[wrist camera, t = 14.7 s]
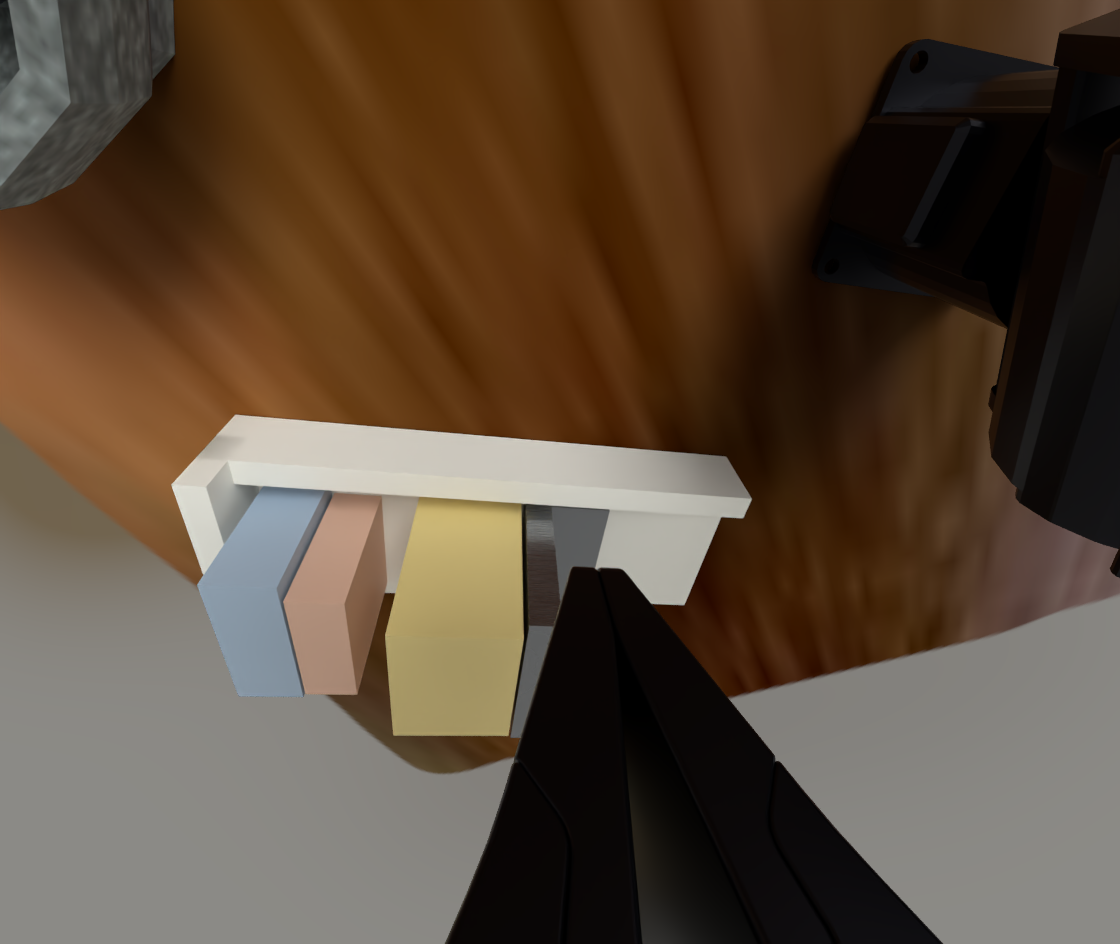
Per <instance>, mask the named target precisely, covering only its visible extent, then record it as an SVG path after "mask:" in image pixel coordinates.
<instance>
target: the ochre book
mask: <svg viewBox="0 0 1120 944" xmlns="http://www.w3.org/2000/svg"><path fill="white" fill-rule="evenodd" d="M523 640H524V632H523V571H522V511H521V503H507V502H493V501H478V500H463V499H448V498H433V497H419V500H418V504H417V508H416V512H415V516H414V520H413V525H412V529H411V533H410V537H409V541H408V545H407V549H406V553H405V557H404V561H403V565H402V569H401V573H400V577H399V581H398V585H397V589H396V593H395V597H394V602H393V606H392V610H391V614H390V618H389V622H388V626H387V630H386V634H385V641H386V653H387V665H388V677H389V689H390V701H391V714H392V726H393V736H508V734H509V728H510V722H511V715H512V709H513V703H514V697H515V690H516V684H517V678H518V672H519V665H520V659H521V653H522V647H523Z"/></svg>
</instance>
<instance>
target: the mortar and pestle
mask: <svg viewBox="0 0 1120 944" xmlns="http://www.w3.org/2000/svg"><path fill="white" fill-rule="evenodd" d="M174 55H175V40H174V12H173V0H0V210H3V209H8V208H13V207H19V206H24V205H29V204H33V203H35V202H37V201H39V200H41V199H43V198H45V197H47V196H48V195H50V194H52V193H54V192H56V191H58V190H60V189H62V188H64V187H66V186H68V185H70V184H72V183H74V182H75V181H76V180H77V179H78V178H79V176H80V175H81V174H82V173H83V172H84V171H85V170H86V169H87V168H88V166H89V165H90V164H91V163H92V162H93V161H94V160H95V159H96V158H97V156H98V155H99V154H100V153H101V152H102V151H103V150H104V149H105V148H106V146H107V145H108V144H109V143H110V142H111V141H112V140H113V139H114V138H115V136H116V135H117V134H118V133H119V132H120V131H121V130H122V129H123V127H124V126H125V125H126V124H127V123H128V122H129V121H130V120H131V119H132V117H133V116H134V115H135V114H136V113H137V112H138V111H139V110H140V109H141V107H142V106H143V105H144V104H145V103H146V102H147V101H148V100H149V99H150V97H151V96H152V80H153V79H154V77H155V76H156V75H157V74H158V73H159V72H160V71H161V70H162V68H163V67H164V66H165V65H166V64H167V63H168V62H169V61H170V59H171V58H172V57H173V56H174Z"/></svg>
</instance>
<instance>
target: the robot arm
mask: <svg viewBox="0 0 1120 944" xmlns="http://www.w3.org/2000/svg"><path fill="white" fill-rule="evenodd" d="M916 53H917V54H918V56H919V63H918V66H917V67H916V69H915V70H914V71H913V72H911V71H910V68H909V65H910V61H911V59H912V57H913V56H914V54H916ZM1053 65H1054V66H1057V67H1053V66H1049V65H1044V64H1039V63H1035V62H1030V61H1026V60H1021V59H1017V58H1012V57H1008V56H1003V55H999V54H994V53H989V52H985V51H980V50H976V49H971V48H967V47H962V46H958V45H953V44H949V43H944V42H940V41H935V40H930V39H923V40H916V41H912V42H910V43H908V44H906V45H905V46H904V47H903V48H902V49H901V50H900V51H899V52H898V54H897V56H896V58H895V59H894V62H893V64H892V67H891V69H890V72H889V74H888V77H887V79H886V82H885V84H884V87H883V89H882V92H881V94H880V96H879V99H878V101H877V104H876V106H875V109H874V111H873V114H872V116H871V119H870V120H869V121H868V122H867V123H866V124H865V125H864V126H863V129H862V131H861V134H860V136H859V139H858V141H857V144H856V146H855V149H854V151H853V154H852V156H851V159H850V161H849V164H848V166H847V169H846V171H845V174H844V176H843V179H842V181H841V184H840V186H839V189H838V191H837V194H836V196H835V199H834V201H833V204H832V206H831V209H830V216H831V218H830V220H829V223H828V225H827V228H826V230H825V233H824V235H823V238H822V240H821V243H820V245H819V248H818V250H817V253H816V255H815V258H814V260H813V263H812V273H813V274H814V276H815V277H817V278H818V279H820V280H823V281H825V282H831V283H838V284H846V285H853V286H860V287H867V288H874V289H881V290H888V291H895V292H903V293H910V294H917V295H924V296H931V297H936V298H939V299H941V300H943V301H945V302H948V303H950V304H952V305H954V306H957V307H959V308H961V309H963V310H966V311H968V312H970V313H972V314H975V315H977V316H979V317H981V318H984V319H986V320H988V321H990V322H993V323H995V324H997V325H999V326H1002V327H1004V328H1006V329H1007V334H1006V339H1005V344H1004V349H1003V354H1002V359H1001V364H1000V369H999V374H998V380H997V385H994V386H993V387H992V388H991V393H990V398H989V403H988V404H989V407H990V409H991V410H992V412H993V413H992V418H991V423H990V428H989V440H990V449H991V457H992V458H993V460H994V461H995V462H996V464H997V465H998V466H999V467H1000V469H1001V470H1002V471H1003V473H1004V474H1005V475H1006V476H1007V478H1008V479H1009V480H1010V482H1011V483H1012V484H1013V485H1015V486H1016V487H1017V489H1016V499H1017V500H1018V501H1019V503H1021V504H1022V505H1024V506H1026V507H1027V508H1029V509H1030V510H1032V511H1033V512H1035V513H1036V514H1038V515H1040V516H1041V517H1043V518H1044V519H1046V520H1047V521H1049V522H1051V523H1053V524H1056V525H1058V526H1060V527H1062V528H1065V529H1067V530H1069V531H1071V532H1074V533H1076V534H1078V535H1081V536H1083V537H1085V538H1087V539H1090V540H1092V541H1094V542H1097V543H1100V544H1103V545H1106V546H1110V547H1113V548H1116V549H1119V550H1118V552H1117V554H1116V556H1115V558H1114V561H1113V563H1112V565H1111V567H1110V570H1111V572H1112V573H1113V574H1114V575H1115V576H1117V577H1119V578H1120V9H1118V10H1115V11H1113V12H1110V13H1108V14H1105V15H1102V16H1100V17H1097V18H1094V19H1092V20H1089V21H1086V22H1084V23H1081V24H1079V25H1076V26H1073V27H1071V28H1068V29H1065V30H1063V31H1061V32H1060V33H1059V38H1058V43H1057V48H1056V53H1055V58H1054V64H1053ZM1058 67H1059V68H1058ZM831 259H833V260H834V261H833V265H832V267H831V268H830V269H829V270H827V271H824V268H825V265H826V263H827V262H828V261H829V260H831ZM445 944H943V943H942V942H941V941H940V940H939V939H938V938H937V937H936V936H935V934H934V933H933V932H932V931H931V930H930V929H929V928H928V927H927V926H926V925H925V924H924V923H923V922H922V921H921V920H920V919H919V918H918V917H917V915H916V914H915V913H914V912H913V911H912V910H911V909H910V908H909V907H908V906H907V905H906V904H905V903H904V902H903V901H902V900H901V899H900V897H898V895H897V894H896V893H895V892H894V891H893V890H892V889H891V888H890V887H889V886H888V885H887V884H886V883H885V882H884V881H883V880H882V878H881V877H880V876H879V875H878V874H877V873H876V872H875V871H874V870H873V869H872V868H871V867H870V865H869V864H868V863H867V862H866V861H865V860H864V859H863V858H862V857H861V856H860V854H858V852H857V851H856V850H855V849H854V848H853V847H852V846H851V845H850V844H849V842H848V841H847V840H846V839H845V838H844V837H843V836H842V835H841V834H840V833H839V831H838V830H837V829H836V828H835V827H834V826H833V825H832V823H831V822H830V821H829V820H828V819H827V818H826V816H825V815H824V814H823V813H822V812H821V810H820V809H819V808H818V807H817V806H816V805H815V803H814V802H813V801H812V800H811V799H810V797H809V796H808V795H807V794H806V793H805V792H804V790H803V789H802V788H801V787H800V786H799V784H798V783H797V782H796V781H795V779H794V778H793V777H792V776H791V774H790V773H789V772H788V771H787V770H786V768H785V767H784V766H783V765H782V763H780V762H779V761H776V762H775V755H774V754H773V753H772V751H771V750H770V749H769V748H768V747H767V746H766V744H765V743H764V742H763V741H762V739H761V738H760V737H759V736H758V734H757V733H756V732H755V731H754V729H753V728H752V727H751V726H750V724H749V723H748V722H747V721H746V720H745V718H744V717H743V716H742V715H741V713H740V712H739V711H738V710H737V708H736V707H735V706H734V705H733V704H732V702H731V701H730V700H729V699H728V697H727V696H726V695H725V694H724V692H723V691H722V690H721V689H720V688H719V686H718V685H717V684H716V683H715V681H714V680H713V679H712V678H711V677H710V675H709V674H708V673H707V672H706V670H705V669H704V668H703V667H702V665H701V664H700V663H699V662H698V661H697V659H696V658H695V657H694V656H693V654H692V653H691V652H690V651H689V649H688V648H687V647H686V646H685V645H684V643H683V642H682V641H681V640H680V638H679V637H678V636H677V635H676V633H675V632H674V631H673V630H672V629H671V627H670V626H669V625H668V624H667V622H666V621H665V620H664V619H663V618H662V616H661V615H660V614H659V613H658V611H657V610H656V609H655V608H654V606H653V605H652V604H651V603H650V602H649V600H648V599H647V598H646V597H645V595H644V594H643V593H642V592H641V590H640V589H639V588H638V587H637V586H636V584H635V583H634V582H633V581H632V579H631V578H630V577H629V576H628V574H627V573H626V572H625V571H624V570H622V569H620V568H605V567H601V568H598V569H597V570H596V568H594V567H585V566H573V567H572V568H571V569H570V572H569V575H568V579H567V582H566V585H565V589H564V592H563V595H562V599H561V602H560V605H559V609H558V612H557V616H556V619H555V622H554V626H553V629H552V632H551V636H550V639H549V643H548V646H547V649H546V653H545V656H544V659H543V663H542V666H541V670H540V673H539V676H538V680H537V683H536V686H535V690H534V693H533V697H532V700H531V703H530V707H529V710H528V713H527V717H526V720H525V723H524V727H523V730H522V734H521V737H520V740H519V744H518V747H517V750H516V754H515V757H514V763H513V764H512V766H511V770H510V773H509V776H508V780H507V783H506V787H505V790H504V793H503V797H502V799H501V803H500V806H499V809H498V811H497V814H496V817H495V821H494V824H493V826H492V829H491V832H490V836H489V838H488V841H487V844H486V846H485V849H484V851H483V854H482V856H481V859H480V861H479V864H478V866H477V869H476V871H475V874H474V876H473V879H472V881H471V884H470V886H469V889H468V891H467V894H466V896H465V898H464V901H463V903H462V905H461V908H460V910H459V912H458V914H457V917H456V919H455V921H454V924H453V926H452V929H451V931H450V933H449V935H448V938H447V940H446V942H445Z"/></svg>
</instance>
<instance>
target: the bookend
mask: <svg viewBox="0 0 1120 944" xmlns="http://www.w3.org/2000/svg"><path fill="white" fill-rule="evenodd" d="M609 512H610V510H609V509H597V508H582V507H567V506H552V505H537V504H524V510H523V517H522V571H523V632H524V640H523V647H522V653H521V659H520V665H519V672H518V678H517V684H516V690H515V697H514V703H513V709H512V715H511V738H520V737H521V734H522V730H523V727H524V723H525V720H526V717H527V713H528V710H529V707H530V703H531V700H532V697H533V693H534V690H535V686H536V683H537V680H538V676H539V673H540V670H541V666H542V663H543V659H544V656H545V653H546V649H547V646H548V643H549V639H550V636H551V632H552V629H553V626H554V622H555V619H556V616H557V612H558V609H559V605H560V601H561V599H562V595H563V592H564V589H565V585H566V582H567V579H568V575H569V572H570V569H571V568H572V567H573V566H585V567H594V568H595V567H596V563H597V559H598V555H599V551H600V547H601V543H602V539H603V535H604V531H605V528H606V524H607V520H608V516H609Z"/></svg>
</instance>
